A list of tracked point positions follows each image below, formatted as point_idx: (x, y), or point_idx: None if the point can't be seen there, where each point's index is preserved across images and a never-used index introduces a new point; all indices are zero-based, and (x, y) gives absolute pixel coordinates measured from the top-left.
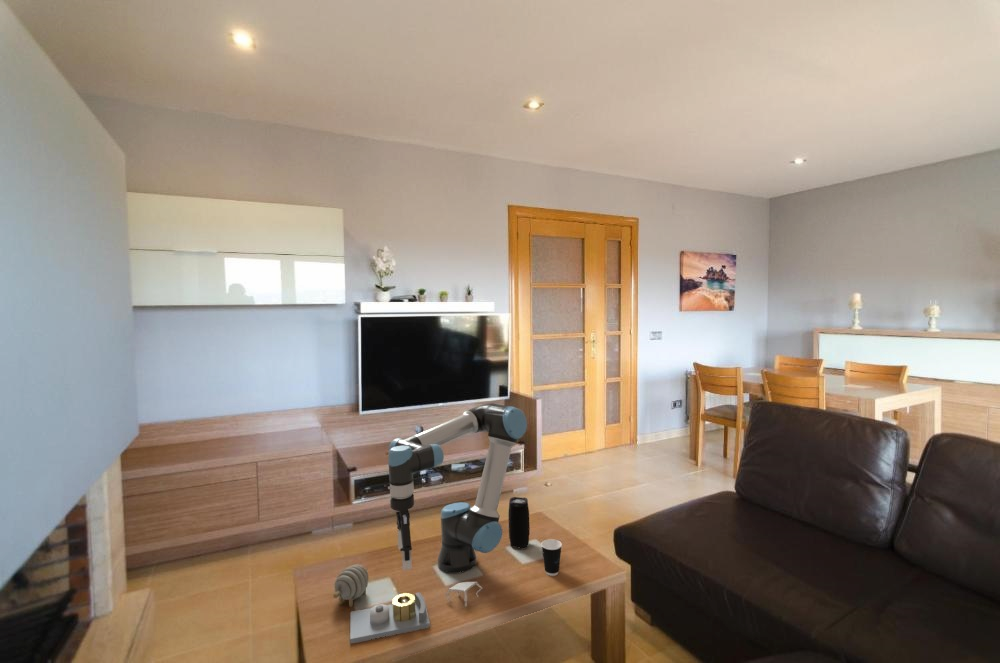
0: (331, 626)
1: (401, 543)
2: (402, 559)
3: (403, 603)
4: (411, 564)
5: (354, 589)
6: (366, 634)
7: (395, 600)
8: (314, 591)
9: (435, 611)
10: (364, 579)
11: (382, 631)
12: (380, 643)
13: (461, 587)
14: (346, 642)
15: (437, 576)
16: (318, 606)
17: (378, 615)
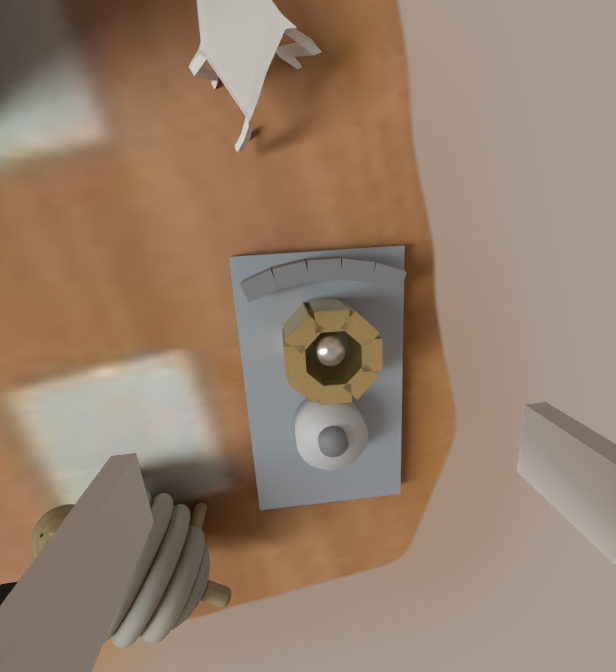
0: (298, 540)
1: (119, 553)
2: (611, 550)
3: (363, 360)
4: (579, 424)
5: (200, 548)
6: (395, 453)
7: (330, 393)
8: None
9: (304, 213)
10: None
11: (396, 408)
12: (421, 405)
13: (252, 37)
14: None
15: (13, 171)
16: None
17: (365, 440)
